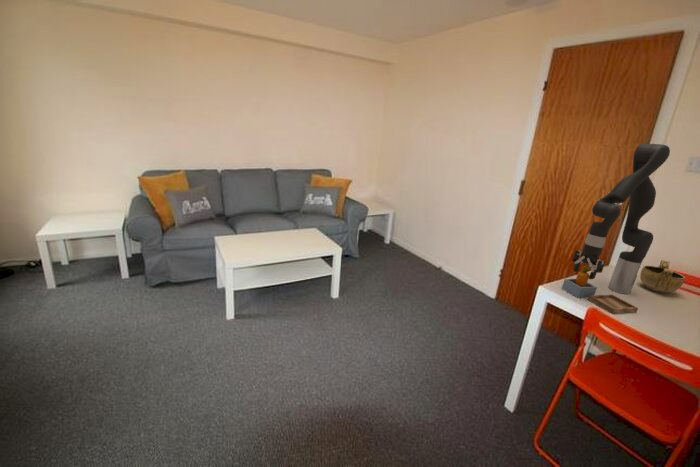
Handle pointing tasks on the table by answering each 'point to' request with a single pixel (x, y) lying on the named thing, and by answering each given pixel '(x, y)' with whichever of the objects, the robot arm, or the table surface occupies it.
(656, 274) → the tan woven basket
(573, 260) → the robot arm
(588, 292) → the blue-grey square box
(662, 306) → the table surface
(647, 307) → the table surface
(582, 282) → the carrot
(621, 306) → the tray
